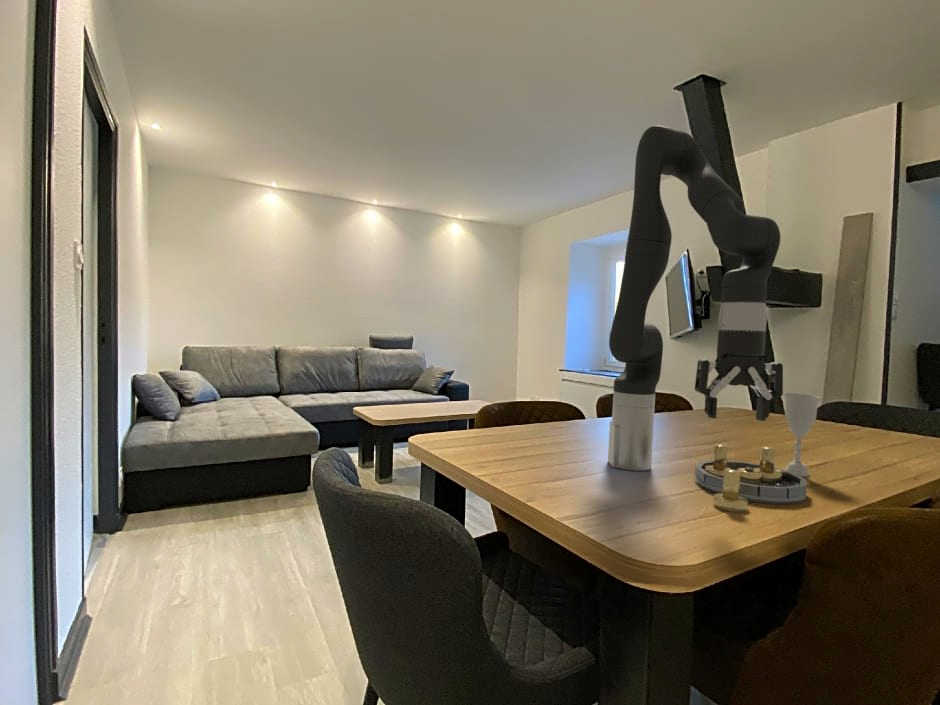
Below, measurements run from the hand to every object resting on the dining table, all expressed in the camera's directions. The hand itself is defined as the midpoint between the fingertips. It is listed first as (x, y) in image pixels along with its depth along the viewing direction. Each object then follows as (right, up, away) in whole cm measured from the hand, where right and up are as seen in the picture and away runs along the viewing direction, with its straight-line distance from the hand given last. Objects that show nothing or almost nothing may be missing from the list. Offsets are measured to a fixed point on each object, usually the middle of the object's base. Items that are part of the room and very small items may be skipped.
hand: (736, 418), depth 91 cm
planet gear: (-1, -16, +1) cm, 16 cm away
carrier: (+9, -16, +13) cm, 22 cm away
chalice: (+27, -16, +26) cm, 41 cm away
